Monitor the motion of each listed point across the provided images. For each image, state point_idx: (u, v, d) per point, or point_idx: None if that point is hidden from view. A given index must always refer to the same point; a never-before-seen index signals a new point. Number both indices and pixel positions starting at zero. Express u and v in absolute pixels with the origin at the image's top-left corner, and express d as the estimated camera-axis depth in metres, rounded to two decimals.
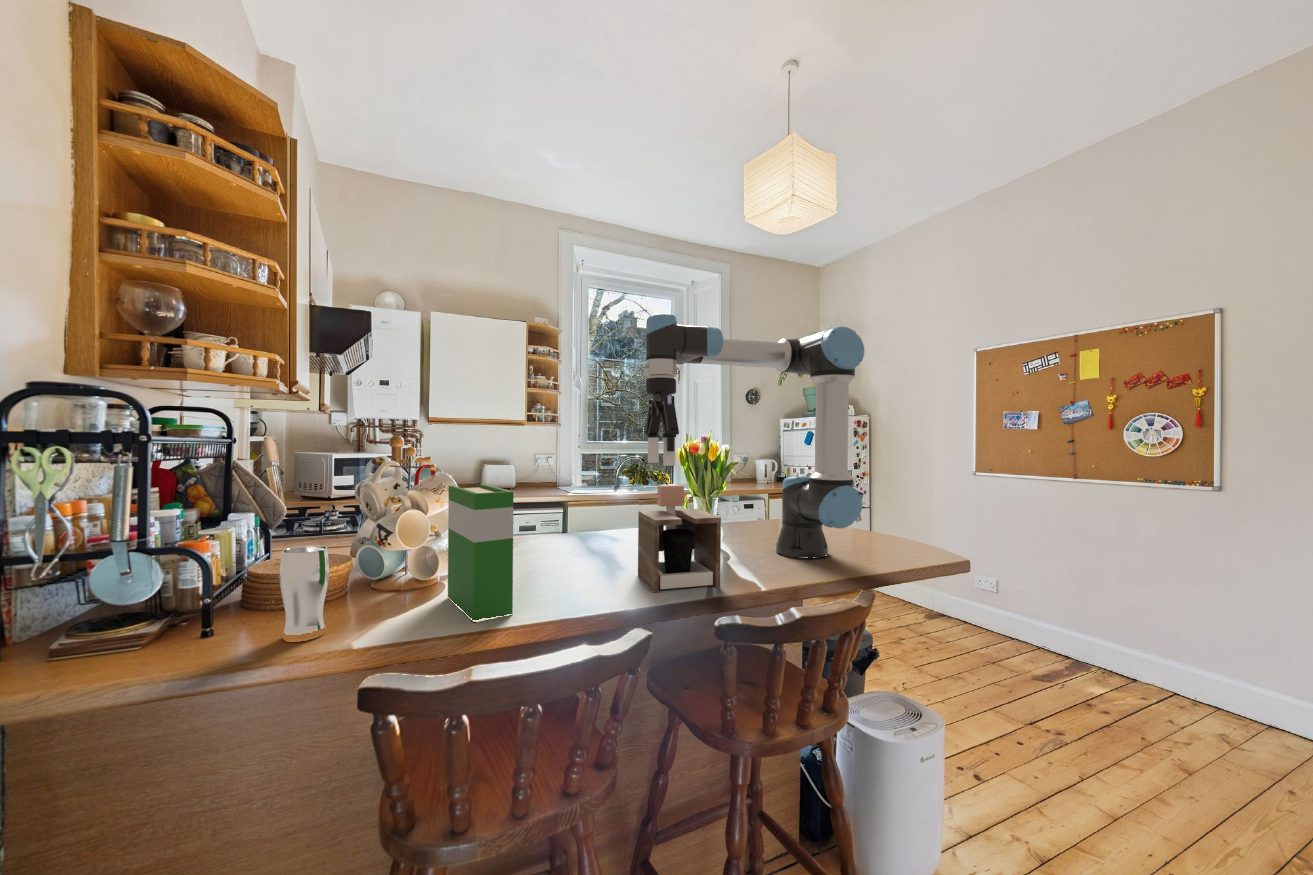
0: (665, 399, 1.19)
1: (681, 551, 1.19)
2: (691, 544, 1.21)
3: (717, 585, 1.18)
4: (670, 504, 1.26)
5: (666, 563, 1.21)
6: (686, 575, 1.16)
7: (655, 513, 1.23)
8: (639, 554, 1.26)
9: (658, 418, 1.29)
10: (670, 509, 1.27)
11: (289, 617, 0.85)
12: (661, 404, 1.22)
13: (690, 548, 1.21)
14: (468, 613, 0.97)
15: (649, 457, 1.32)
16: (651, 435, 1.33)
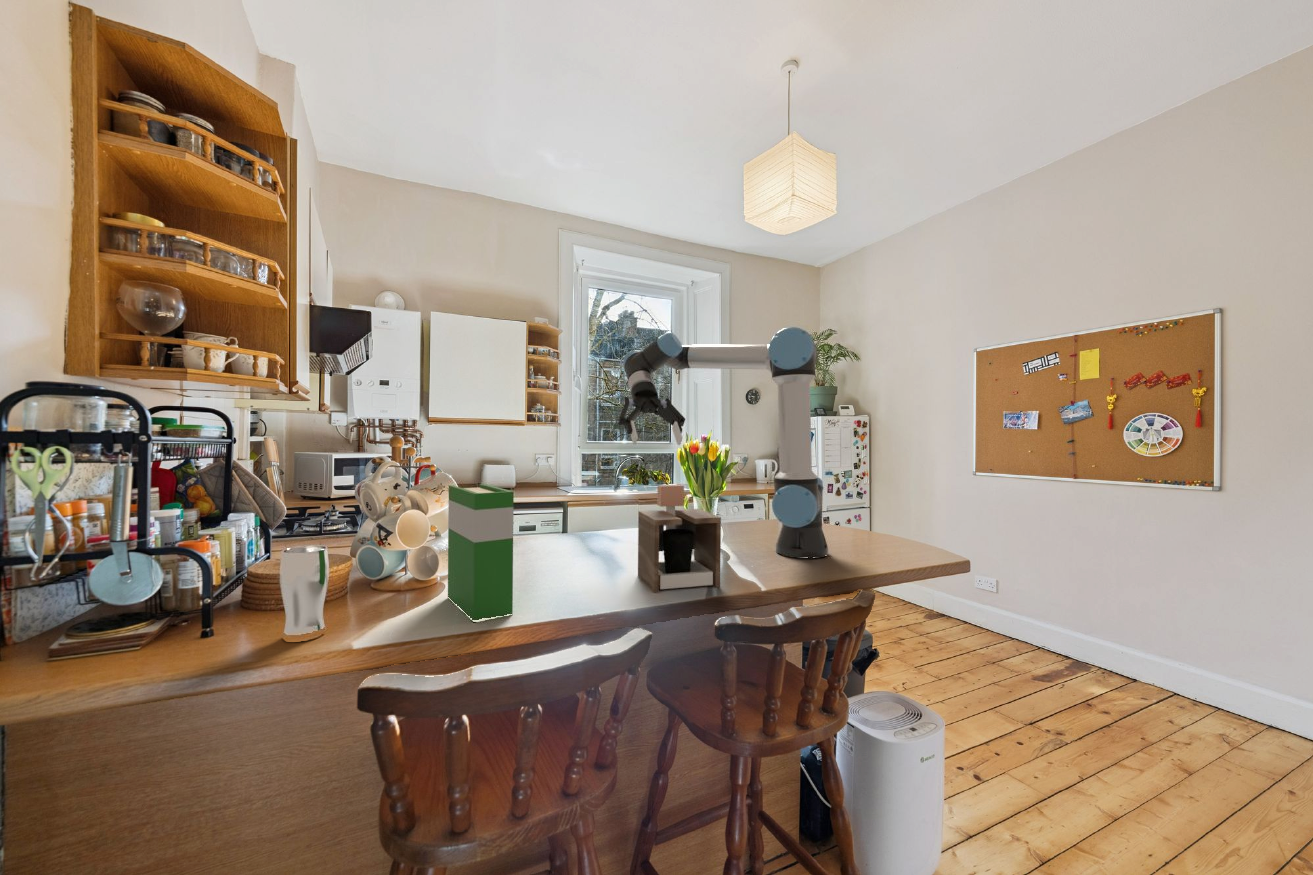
0: (623, 404, 1.48)
1: (681, 551, 1.19)
2: (691, 544, 1.21)
3: (717, 585, 1.18)
4: (670, 504, 1.26)
5: (666, 563, 1.21)
6: (686, 575, 1.16)
7: (655, 513, 1.23)
8: (639, 554, 1.26)
9: (660, 411, 1.47)
10: (670, 509, 1.27)
11: (289, 617, 0.85)
12: (635, 406, 1.48)
13: (690, 548, 1.21)
14: (468, 613, 0.97)
15: (676, 440, 1.42)
16: None
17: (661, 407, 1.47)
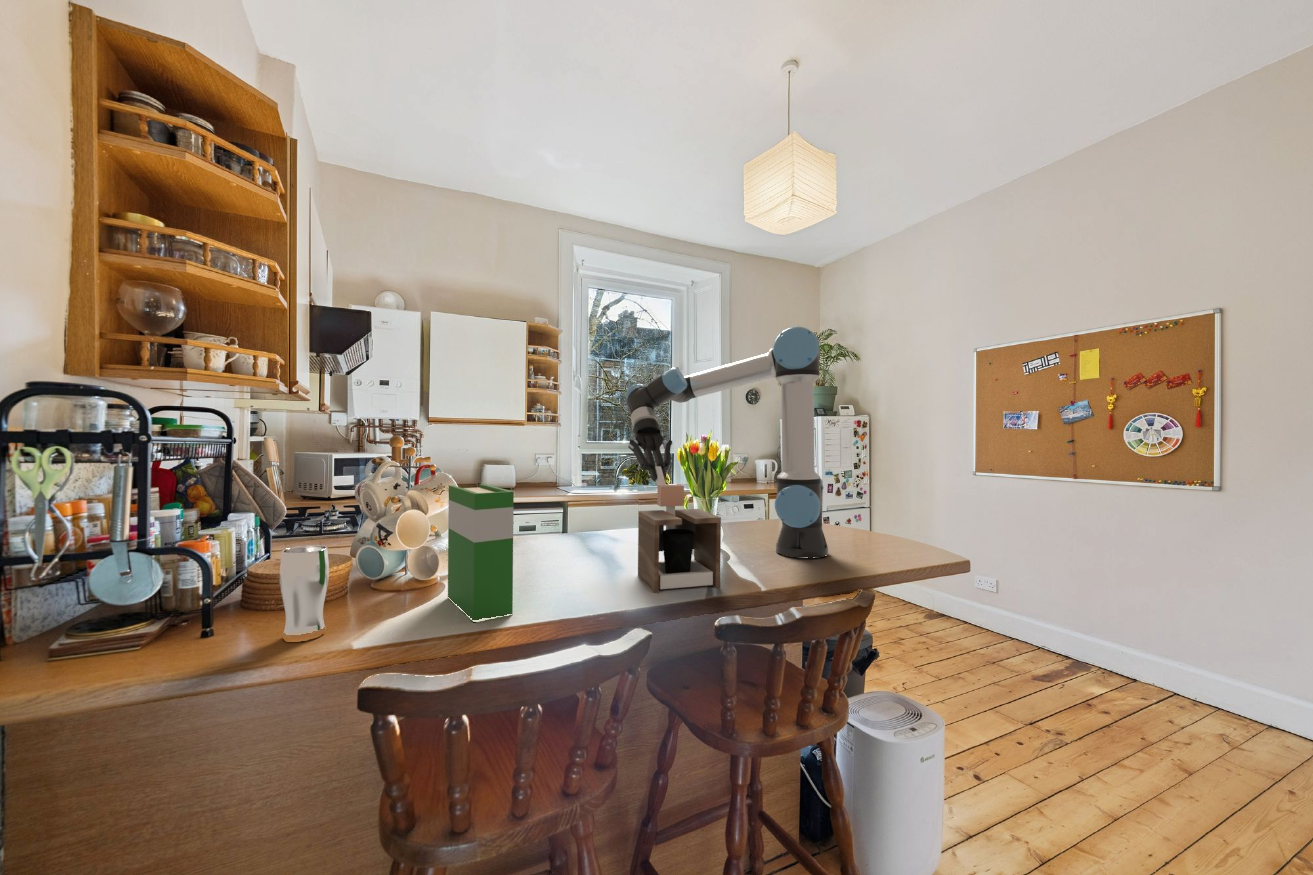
0: (630, 448, 1.44)
1: (681, 551, 1.19)
2: (691, 544, 1.21)
3: (717, 585, 1.18)
4: (670, 504, 1.26)
5: (666, 563, 1.21)
6: (686, 575, 1.16)
7: (655, 513, 1.23)
8: (639, 554, 1.26)
9: (655, 450, 1.43)
10: (670, 509, 1.27)
11: (289, 617, 0.85)
12: None
13: (690, 548, 1.21)
14: (468, 613, 0.97)
15: None
16: None
17: (657, 447, 1.43)
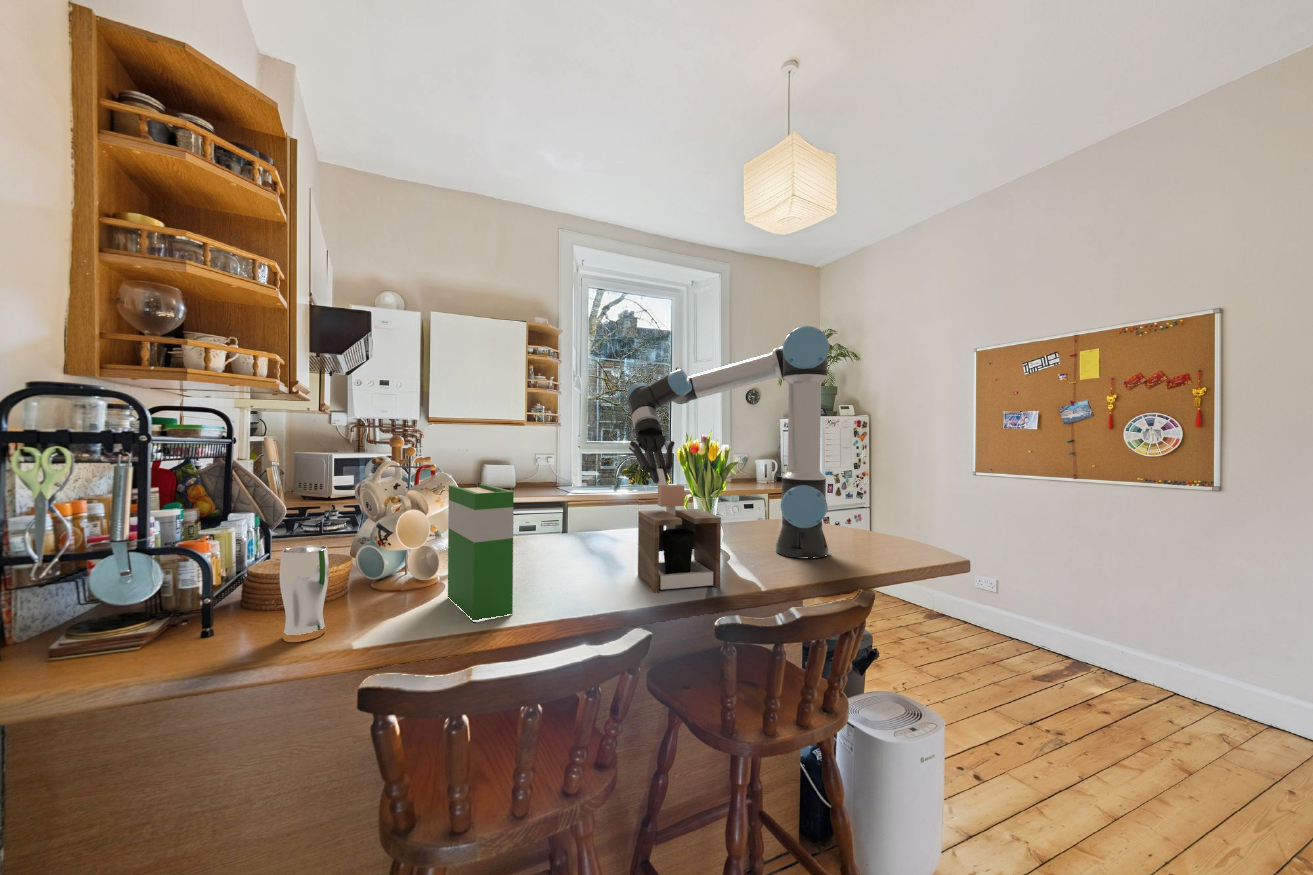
0: (630, 449, 1.39)
1: (681, 551, 1.19)
2: (691, 544, 1.21)
3: (717, 585, 1.18)
4: (670, 504, 1.26)
5: (666, 563, 1.21)
6: (686, 575, 1.16)
7: (655, 513, 1.23)
8: (639, 554, 1.26)
9: (656, 452, 1.39)
10: (670, 509, 1.27)
11: (289, 617, 0.85)
12: None
13: (690, 548, 1.21)
14: (468, 613, 0.97)
15: None
16: None
17: (659, 448, 1.38)
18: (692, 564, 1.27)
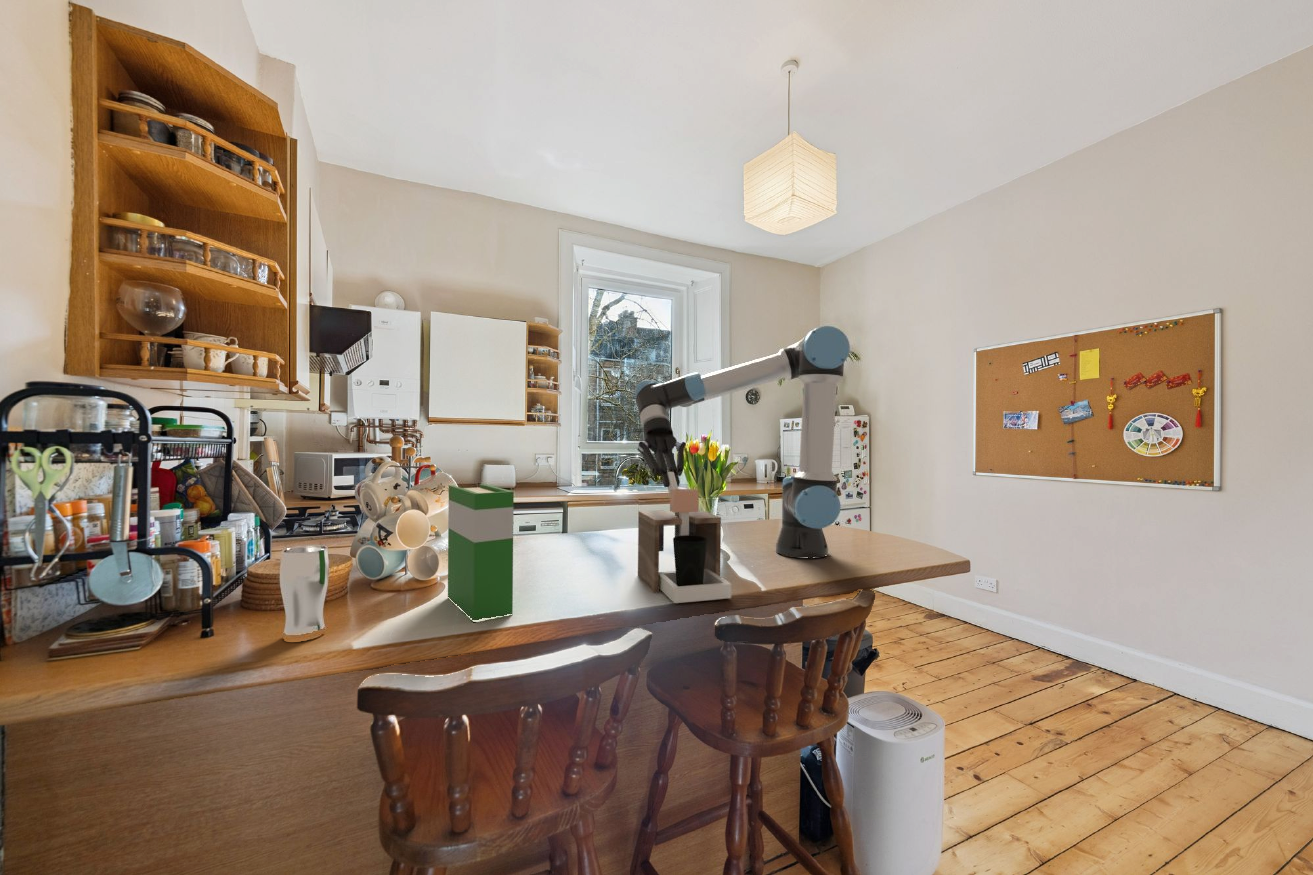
0: (639, 450, 1.30)
1: (693, 560, 1.11)
2: (704, 552, 1.13)
3: None
4: (684, 510, 1.17)
5: (677, 572, 1.13)
6: (702, 588, 1.07)
7: (655, 513, 1.23)
8: (639, 554, 1.26)
9: (667, 453, 1.29)
10: (684, 515, 1.18)
11: (289, 617, 0.85)
12: None
13: (703, 556, 1.12)
14: (468, 613, 0.97)
15: None
16: None
17: (669, 450, 1.29)
18: (707, 574, 1.18)
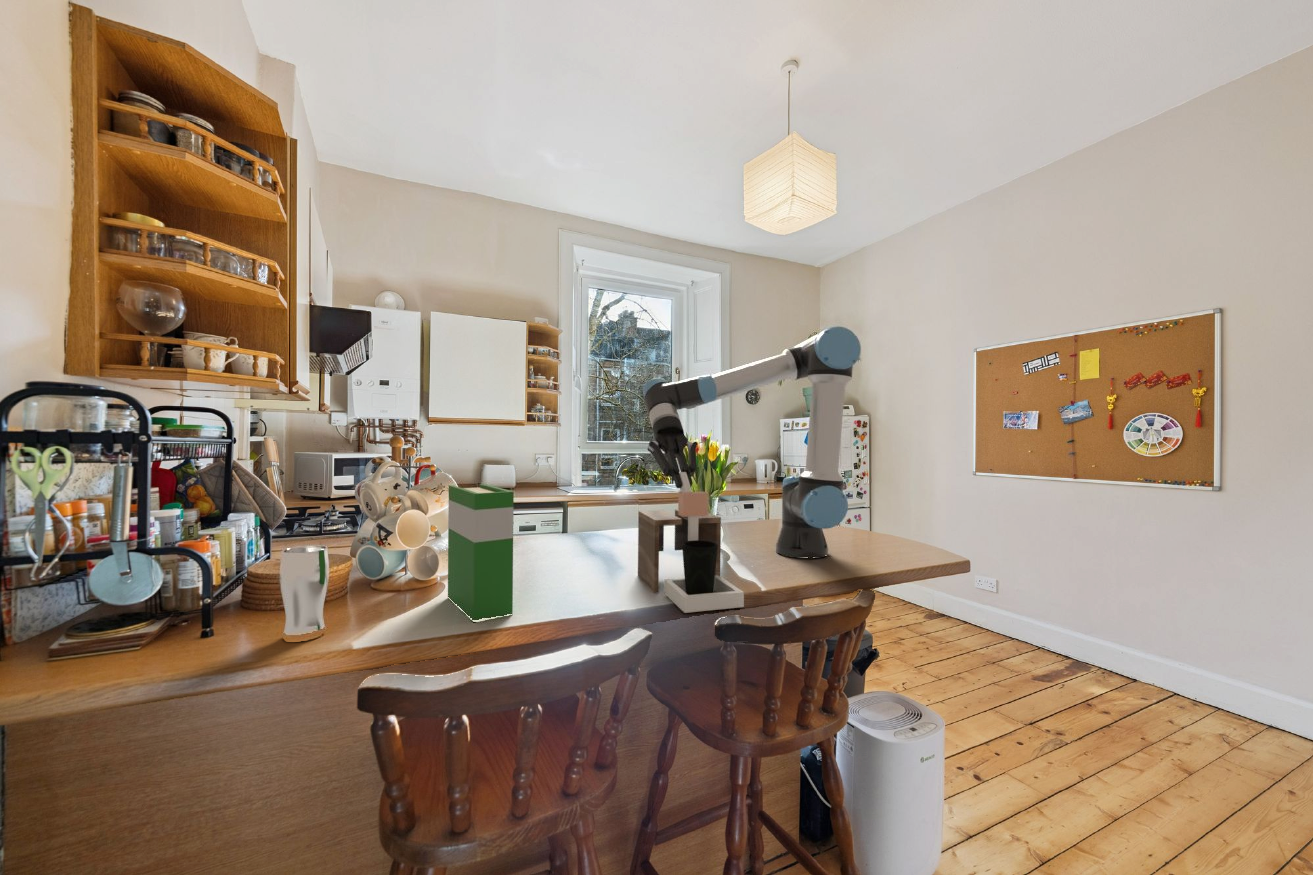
0: (649, 450, 1.25)
1: (703, 566, 1.05)
2: (715, 558, 1.07)
3: None
4: (693, 513, 1.11)
5: (686, 579, 1.07)
6: (714, 596, 1.01)
7: (655, 513, 1.23)
8: (639, 554, 1.26)
9: (678, 453, 1.24)
10: (693, 519, 1.12)
11: (289, 617, 0.85)
12: None
13: (714, 563, 1.07)
14: (468, 613, 0.97)
15: None
16: None
17: (681, 449, 1.24)
18: (717, 581, 1.13)
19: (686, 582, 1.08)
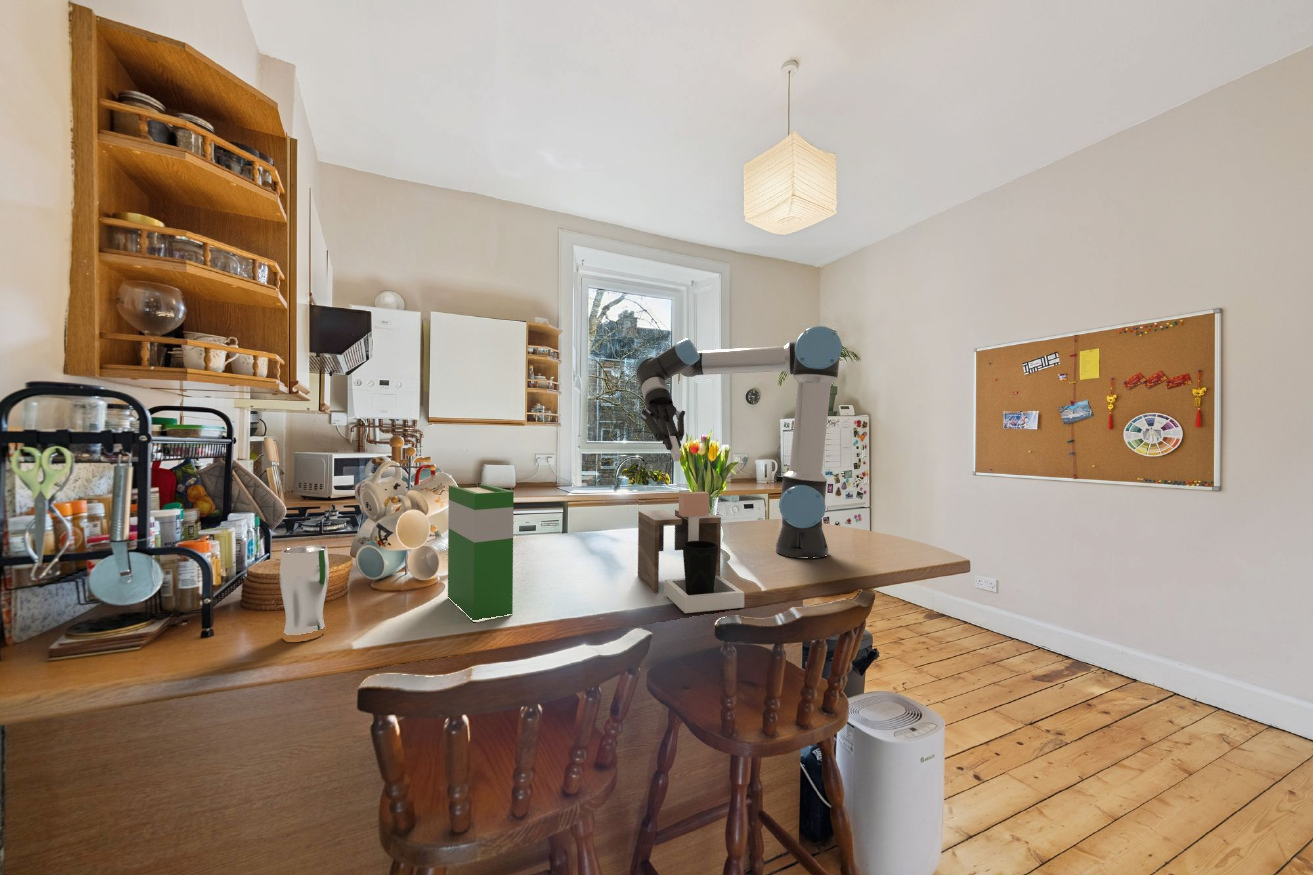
0: (642, 418, 1.40)
1: (704, 567, 1.05)
2: (715, 559, 1.07)
3: None
4: (694, 514, 1.11)
5: (687, 580, 1.07)
6: (714, 596, 1.01)
7: (655, 513, 1.23)
8: (639, 554, 1.26)
9: (668, 421, 1.39)
10: (693, 519, 1.12)
11: (289, 617, 0.85)
12: (649, 415, 1.41)
13: (714, 563, 1.07)
14: (468, 613, 0.97)
15: None
16: None
17: (670, 417, 1.39)
18: (718, 582, 1.12)
19: (686, 582, 1.07)
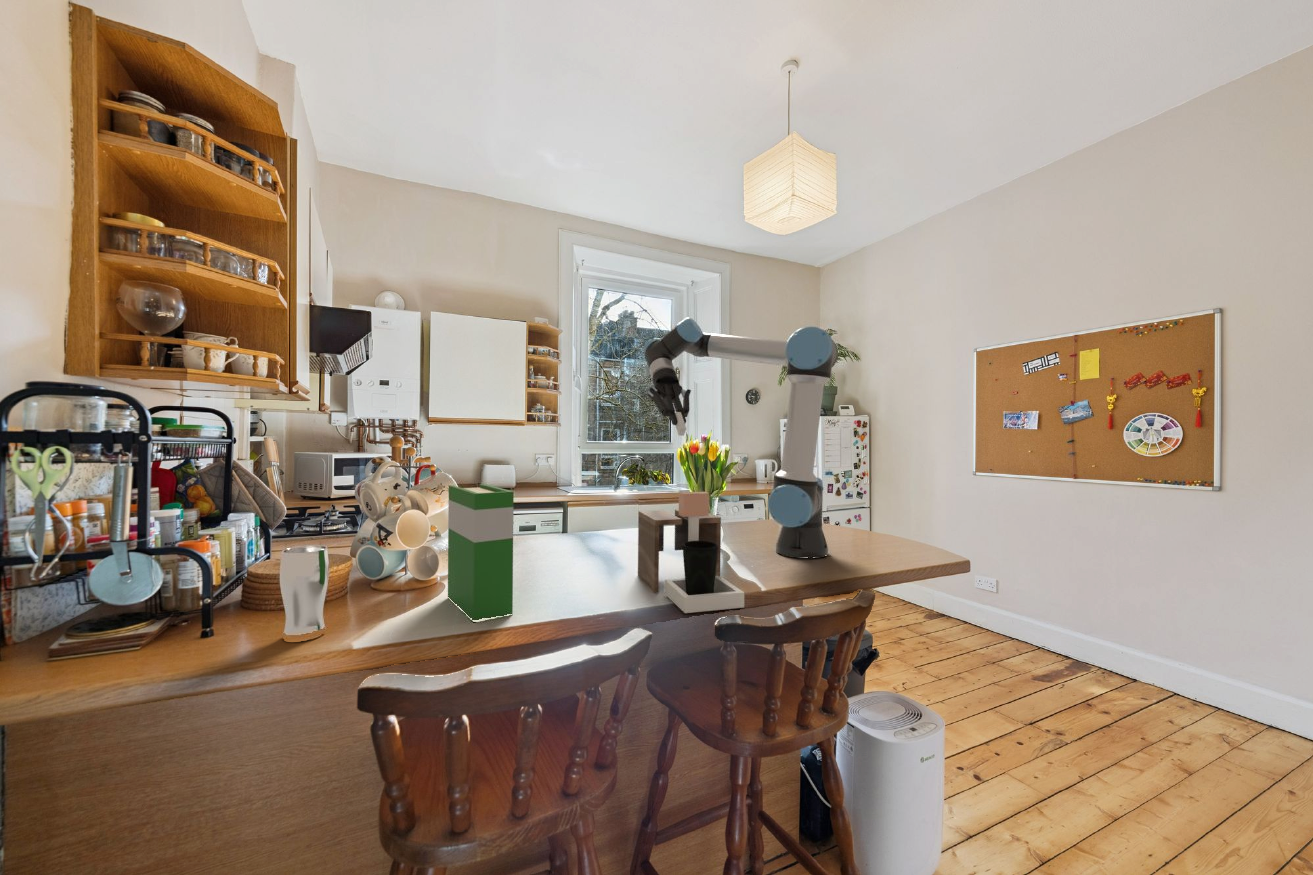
0: (649, 396, 1.47)
1: (704, 567, 1.05)
2: (715, 559, 1.07)
3: None
4: (694, 514, 1.11)
5: (687, 580, 1.07)
6: (714, 596, 1.01)
7: (655, 513, 1.23)
8: (639, 554, 1.26)
9: (674, 398, 1.46)
10: (693, 519, 1.12)
11: (289, 617, 0.85)
12: None
13: (714, 563, 1.07)
14: (468, 613, 0.97)
15: None
16: None
17: (676, 395, 1.46)
18: (718, 582, 1.12)
19: (686, 582, 1.07)
